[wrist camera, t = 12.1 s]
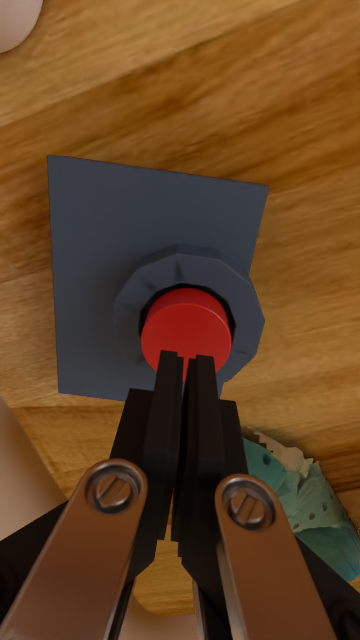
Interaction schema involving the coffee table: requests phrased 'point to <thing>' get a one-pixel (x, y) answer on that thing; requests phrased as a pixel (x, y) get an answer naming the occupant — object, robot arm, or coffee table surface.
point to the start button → (186, 328)
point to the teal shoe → (307, 503)
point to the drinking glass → (17, 21)
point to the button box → (144, 265)
